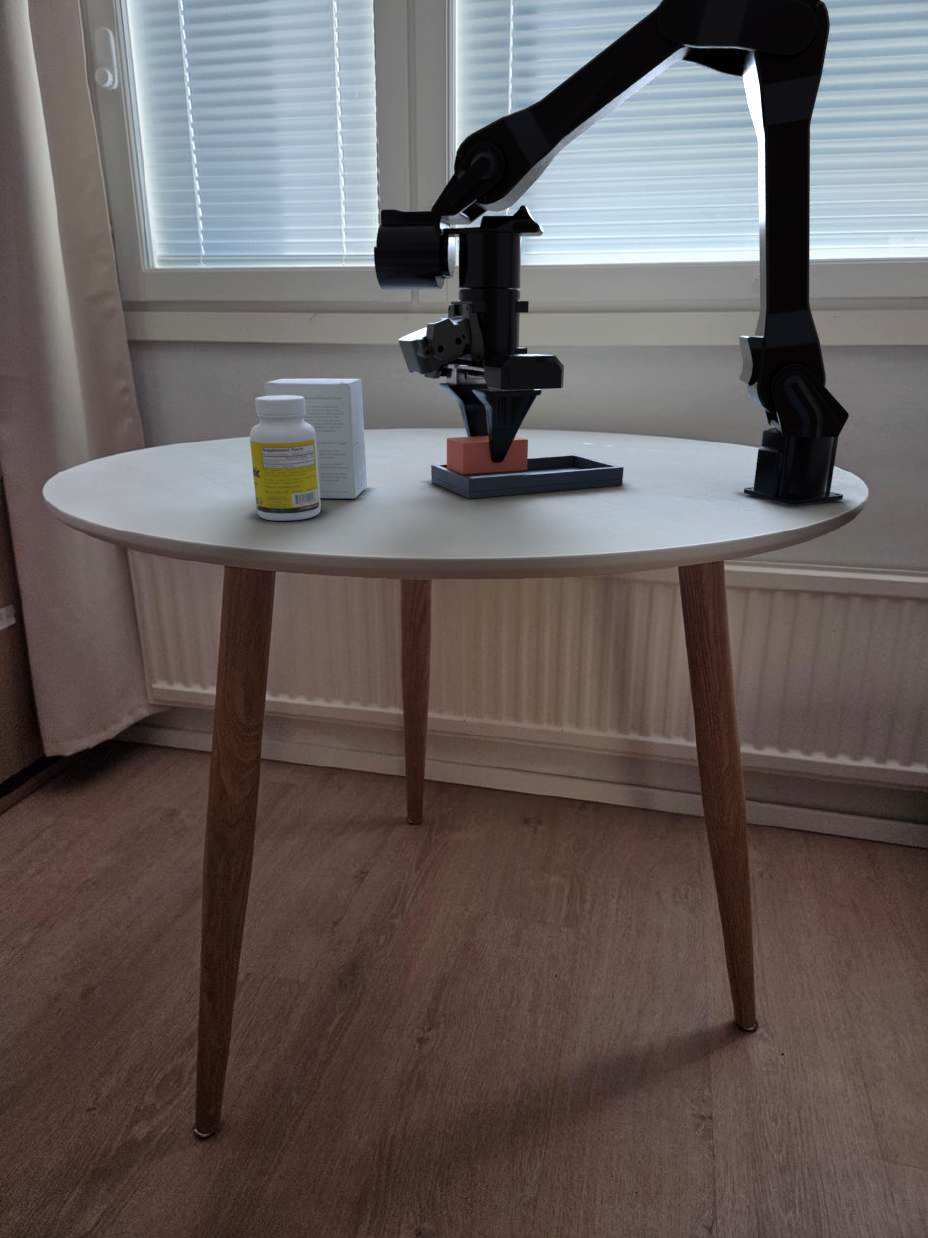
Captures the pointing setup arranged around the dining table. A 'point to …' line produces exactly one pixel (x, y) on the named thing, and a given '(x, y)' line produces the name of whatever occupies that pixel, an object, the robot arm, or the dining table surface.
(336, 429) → the small box
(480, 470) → the brick
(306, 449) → the supplement bottle
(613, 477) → the tray
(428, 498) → the dining table surface
